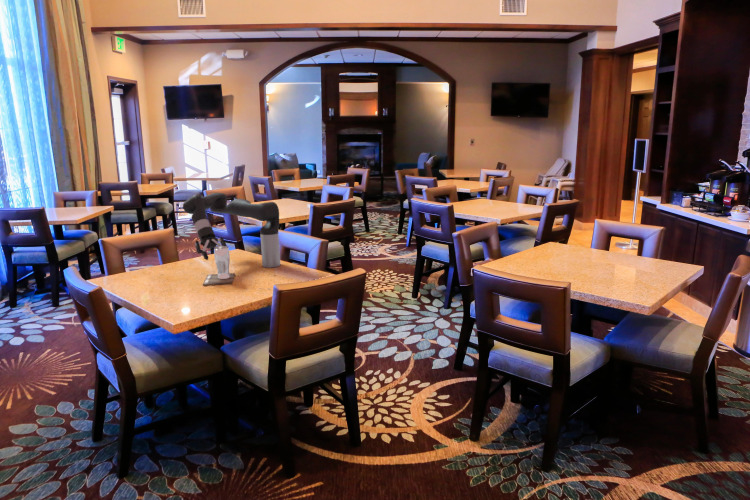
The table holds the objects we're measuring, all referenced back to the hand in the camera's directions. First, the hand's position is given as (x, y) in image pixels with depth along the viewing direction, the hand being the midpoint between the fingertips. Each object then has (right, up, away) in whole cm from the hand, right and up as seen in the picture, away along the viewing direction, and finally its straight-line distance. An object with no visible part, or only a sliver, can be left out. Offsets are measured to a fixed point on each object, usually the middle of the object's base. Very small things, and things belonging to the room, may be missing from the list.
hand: (215, 257), depth 260 cm
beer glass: (+4, -10, 0) cm, 11 cm away
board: (+2, -11, -1) cm, 11 cm away
